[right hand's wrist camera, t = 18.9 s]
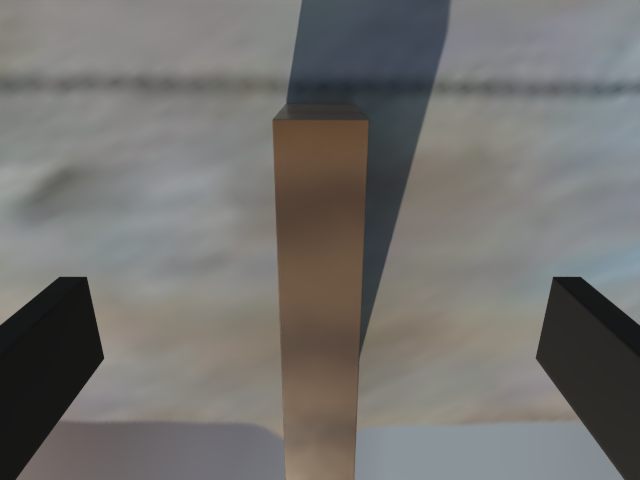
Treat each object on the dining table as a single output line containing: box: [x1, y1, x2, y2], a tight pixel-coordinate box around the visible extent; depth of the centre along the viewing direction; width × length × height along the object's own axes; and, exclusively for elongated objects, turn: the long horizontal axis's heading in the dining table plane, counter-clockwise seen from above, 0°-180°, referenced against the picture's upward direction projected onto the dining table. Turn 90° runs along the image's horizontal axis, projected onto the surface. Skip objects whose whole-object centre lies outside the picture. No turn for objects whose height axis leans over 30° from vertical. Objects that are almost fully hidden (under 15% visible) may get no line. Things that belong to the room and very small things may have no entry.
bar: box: [273, 104, 369, 480], centre depth 32 cm, size 26×5×9 cm, turn 0°
